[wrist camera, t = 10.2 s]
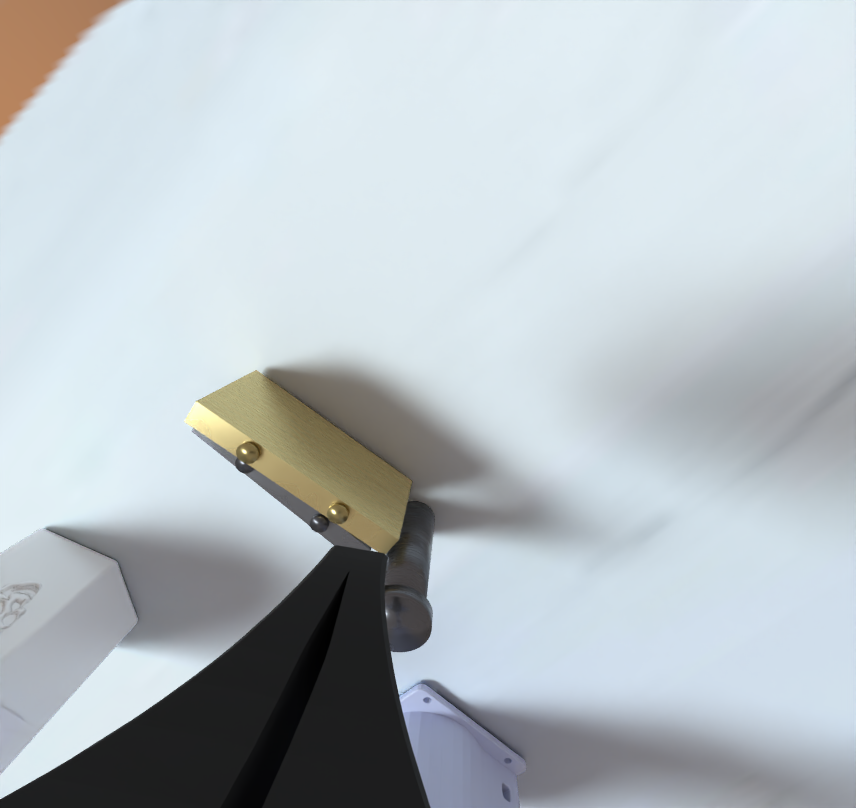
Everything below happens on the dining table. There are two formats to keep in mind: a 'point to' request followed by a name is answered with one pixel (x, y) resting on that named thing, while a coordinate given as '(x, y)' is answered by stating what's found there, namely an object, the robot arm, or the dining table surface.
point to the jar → (53, 629)
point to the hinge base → (405, 558)
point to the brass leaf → (306, 457)
